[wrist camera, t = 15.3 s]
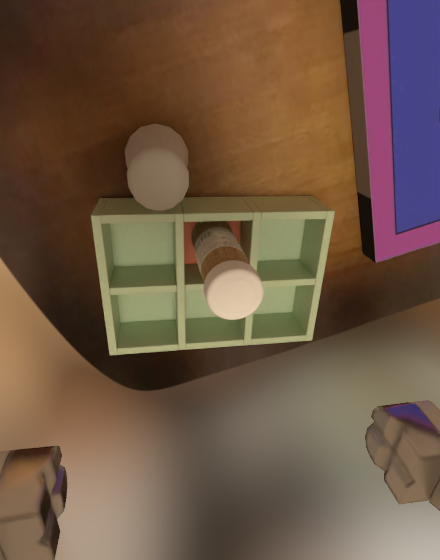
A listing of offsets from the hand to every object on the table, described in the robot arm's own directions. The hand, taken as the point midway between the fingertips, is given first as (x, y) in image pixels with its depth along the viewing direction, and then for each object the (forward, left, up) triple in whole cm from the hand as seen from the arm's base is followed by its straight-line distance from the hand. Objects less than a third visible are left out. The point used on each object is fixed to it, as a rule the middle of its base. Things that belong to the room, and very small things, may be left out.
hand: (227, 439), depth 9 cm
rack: (+4, -10, -32) cm, 34 cm away
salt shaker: (-1, +2, -32) cm, 32 cm away
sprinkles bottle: (+4, -6, -31) cm, 32 cm away
